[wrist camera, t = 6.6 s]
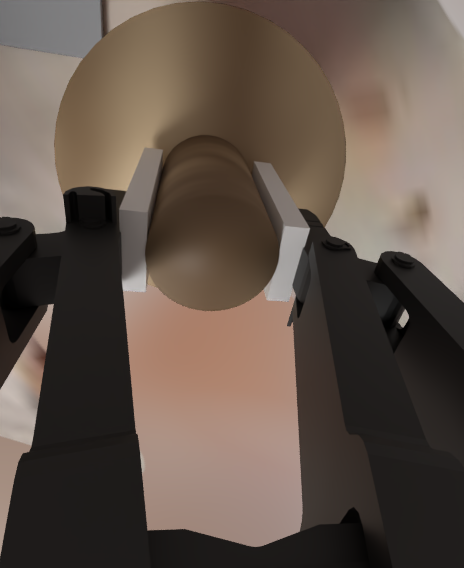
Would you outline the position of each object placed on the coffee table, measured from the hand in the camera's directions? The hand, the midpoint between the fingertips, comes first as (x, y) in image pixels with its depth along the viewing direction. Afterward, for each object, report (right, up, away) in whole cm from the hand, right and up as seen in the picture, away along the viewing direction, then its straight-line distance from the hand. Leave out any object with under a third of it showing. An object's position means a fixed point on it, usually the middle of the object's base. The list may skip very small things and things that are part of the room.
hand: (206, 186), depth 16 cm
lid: (0, +1, +1) cm, 2 cm away
